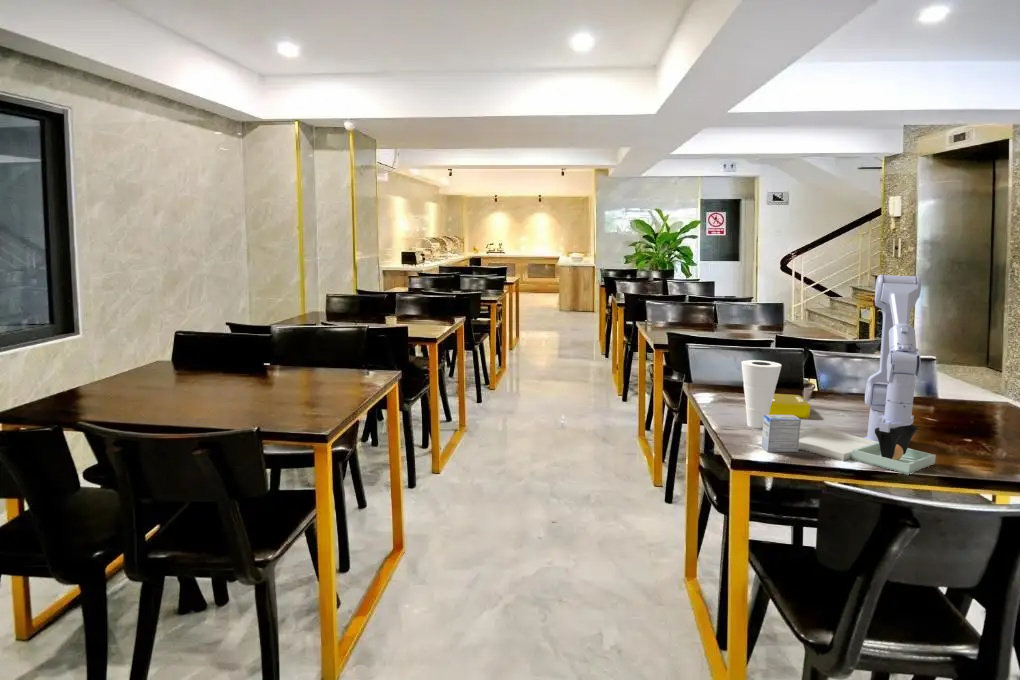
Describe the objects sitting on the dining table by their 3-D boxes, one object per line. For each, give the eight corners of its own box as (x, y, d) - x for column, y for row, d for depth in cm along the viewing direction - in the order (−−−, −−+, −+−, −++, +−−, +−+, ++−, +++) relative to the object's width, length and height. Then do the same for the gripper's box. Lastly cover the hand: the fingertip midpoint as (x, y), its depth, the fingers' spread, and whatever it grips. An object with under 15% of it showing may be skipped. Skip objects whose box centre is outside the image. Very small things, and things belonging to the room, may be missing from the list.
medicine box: (791, 447, 188) (794, 414, 187) (798, 453, 184) (801, 419, 183) (760, 447, 188) (763, 414, 187) (767, 452, 184) (770, 418, 183)
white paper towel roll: (779, 432, 202) (784, 368, 200) (738, 429, 204) (743, 365, 202) (773, 422, 213) (778, 361, 210) (735, 420, 215) (739, 359, 212)
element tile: (810, 420, 219) (812, 404, 218) (758, 417, 221) (759, 401, 220) (799, 408, 233) (800, 393, 233) (750, 405, 236) (751, 390, 235)
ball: (888, 456, 181) (890, 440, 180) (905, 460, 178) (907, 444, 177) (880, 459, 178) (882, 443, 178) (897, 463, 175) (899, 447, 175)
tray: (814, 432, 203) (815, 426, 203) (880, 449, 189) (880, 442, 189) (776, 442, 192) (777, 436, 192) (843, 461, 178) (843, 453, 178)
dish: (878, 450, 187) (879, 441, 187) (934, 465, 177) (935, 454, 177) (851, 459, 179) (852, 449, 179) (908, 475, 169) (909, 464, 168)
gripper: (894, 394, 184) (889, 447, 186) (868, 401, 174) (863, 457, 176) (925, 399, 178) (918, 454, 180) (900, 407, 169) (894, 465, 171)
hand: (893, 456), depth 178 cm, fingers open, 7 cm apart
